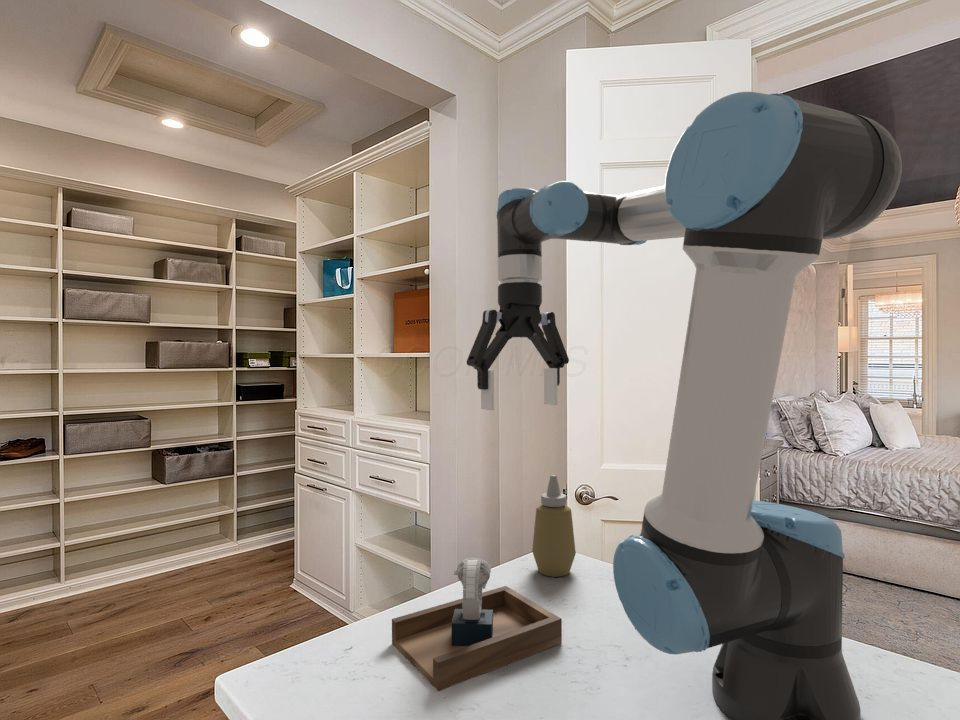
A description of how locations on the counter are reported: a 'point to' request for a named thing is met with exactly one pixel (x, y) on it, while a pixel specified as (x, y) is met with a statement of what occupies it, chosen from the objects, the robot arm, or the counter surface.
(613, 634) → the counter surface
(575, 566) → the counter surface
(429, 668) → the walnut track
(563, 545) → the squeeze bottle
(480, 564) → the watch
